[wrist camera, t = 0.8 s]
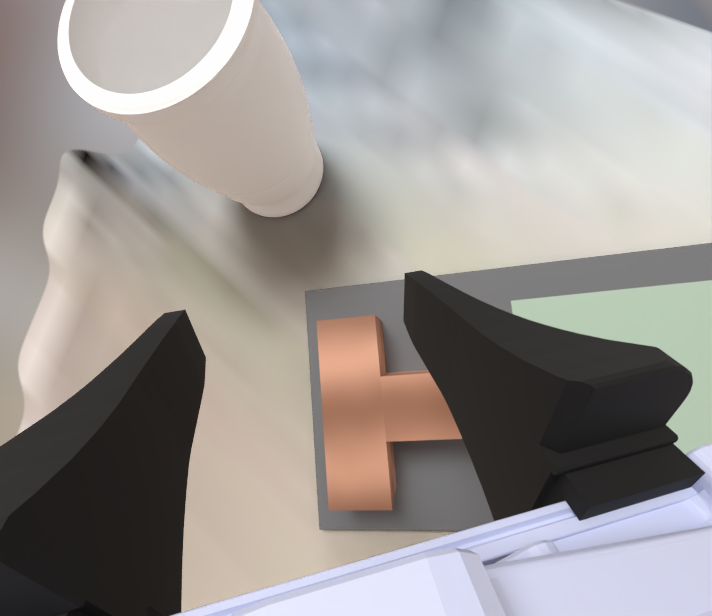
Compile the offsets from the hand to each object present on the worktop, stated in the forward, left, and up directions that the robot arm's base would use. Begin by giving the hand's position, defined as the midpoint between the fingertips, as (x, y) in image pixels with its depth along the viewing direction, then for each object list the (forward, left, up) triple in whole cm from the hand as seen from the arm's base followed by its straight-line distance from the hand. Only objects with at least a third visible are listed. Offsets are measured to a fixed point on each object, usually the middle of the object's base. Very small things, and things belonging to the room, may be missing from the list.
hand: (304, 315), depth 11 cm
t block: (-5, -3, -15) cm, 16 cm away
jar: (+15, +7, -16) cm, 23 cm away
